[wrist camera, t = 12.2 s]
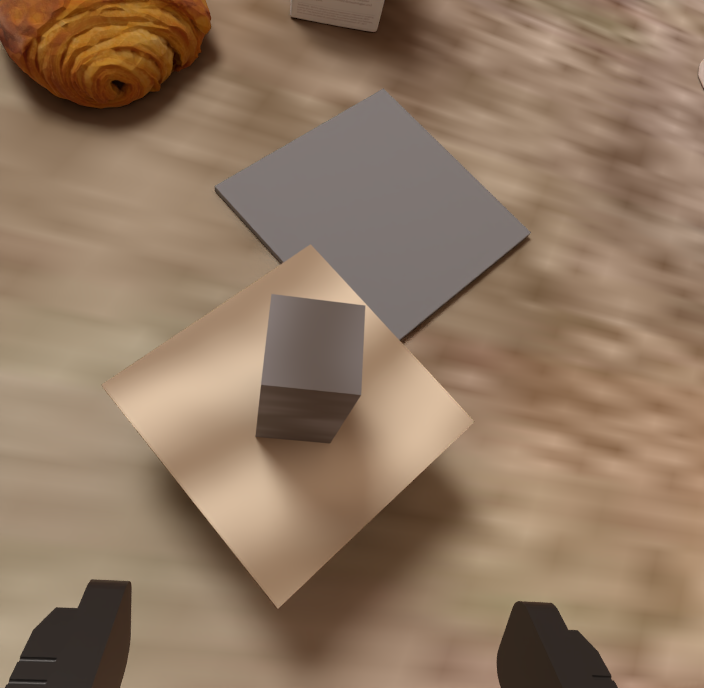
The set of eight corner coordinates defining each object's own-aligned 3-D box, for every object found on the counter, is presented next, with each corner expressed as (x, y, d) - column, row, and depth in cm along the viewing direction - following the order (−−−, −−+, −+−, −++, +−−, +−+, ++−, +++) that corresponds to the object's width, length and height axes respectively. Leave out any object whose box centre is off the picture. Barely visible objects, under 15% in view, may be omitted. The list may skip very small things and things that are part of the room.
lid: (104, 390, 28) (51, 313, 20) (309, 251, 33) (331, 145, 25) (276, 608, 26) (293, 618, 18) (469, 425, 31) (549, 369, 23)
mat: (214, 190, 40) (214, 186, 40) (381, 93, 46) (383, 88, 46) (371, 363, 37) (373, 360, 37) (527, 236, 43) (530, 232, 43)
